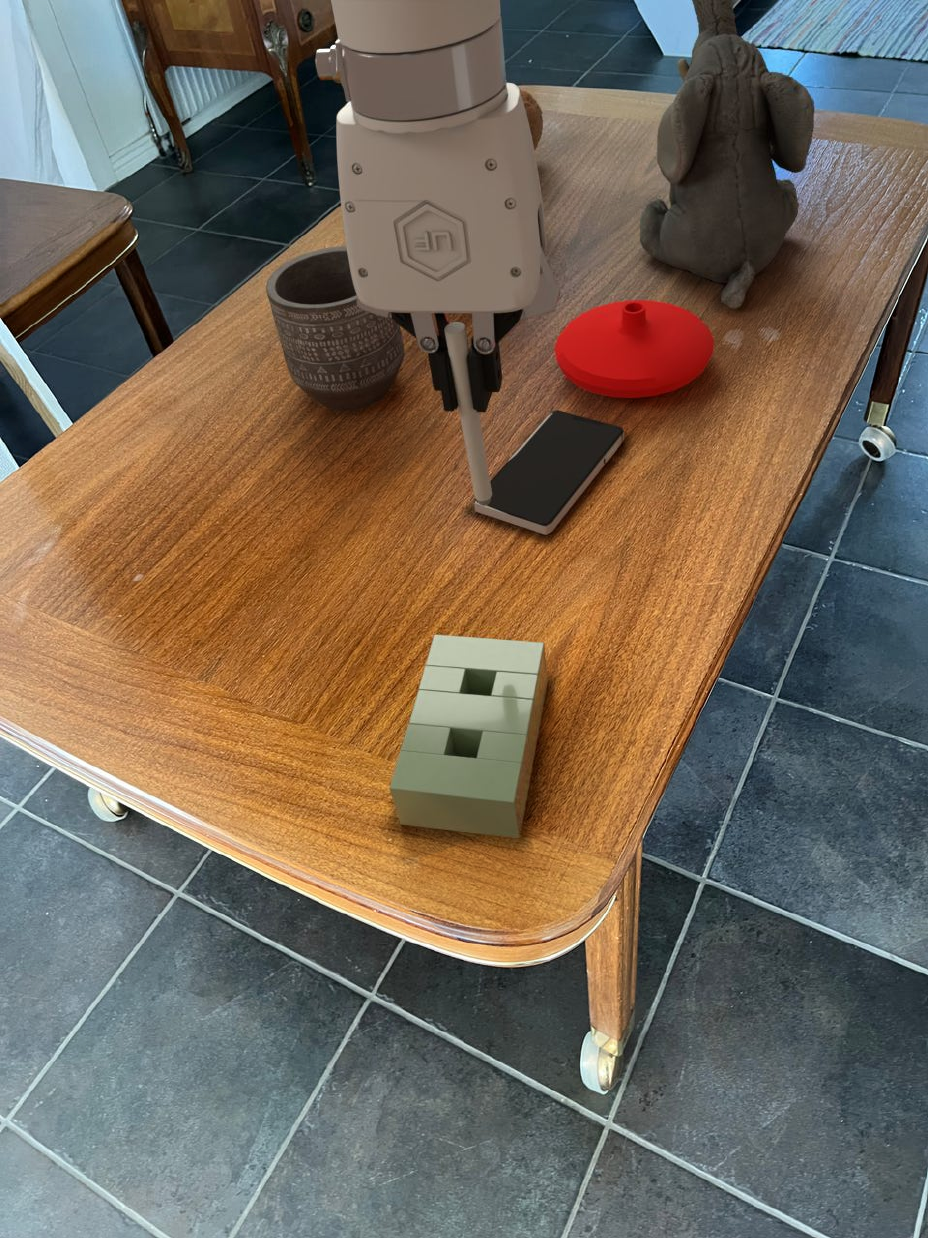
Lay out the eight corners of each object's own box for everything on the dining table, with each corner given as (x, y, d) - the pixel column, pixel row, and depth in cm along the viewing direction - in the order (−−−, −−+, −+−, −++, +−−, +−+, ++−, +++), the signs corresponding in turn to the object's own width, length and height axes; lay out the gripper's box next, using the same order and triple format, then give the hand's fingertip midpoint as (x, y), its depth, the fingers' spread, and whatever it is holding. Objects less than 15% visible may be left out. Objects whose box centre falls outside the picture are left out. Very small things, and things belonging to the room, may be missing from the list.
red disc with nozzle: (604, 316, 106) (604, 255, 101) (738, 349, 99) (745, 285, 94) (526, 390, 98) (521, 328, 93) (665, 433, 91) (668, 368, 86)
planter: (393, 345, 107) (371, 234, 98) (424, 402, 99) (404, 286, 90) (287, 375, 105) (255, 264, 96) (309, 435, 97) (277, 321, 88)
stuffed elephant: (692, 200, 122) (706, -52, 103) (839, 244, 111) (887, -31, 91) (590, 262, 115) (584, 2, 95) (737, 316, 103) (765, 33, 83)
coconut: (464, 191, 132) (456, 114, 125) (490, 152, 140) (483, 78, 132) (532, 192, 129) (527, 114, 122) (554, 153, 137) (550, 77, 130)
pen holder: (442, 672, 74) (434, 633, 71) (548, 681, 72) (544, 642, 69) (400, 824, 65) (388, 788, 62) (519, 839, 64) (514, 802, 60)
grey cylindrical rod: (495, 497, 65) (467, 321, 54) (491, 510, 64) (462, 334, 54) (477, 496, 65) (446, 321, 55) (474, 509, 65) (442, 334, 54)
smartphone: (470, 501, 86) (552, 408, 94) (471, 511, 87) (553, 418, 94) (549, 527, 82) (627, 428, 90) (550, 537, 83) (627, 438, 91)
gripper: (246, 108, 45) (332, 431, 58) (577, 92, 41) (588, 441, 55) (299, 51, 50) (367, 362, 63) (599, 32, 46) (605, 366, 59)
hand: (470, 397), depth 59 cm, fingers closed on grey cylindrical rod, 1 cm apart
